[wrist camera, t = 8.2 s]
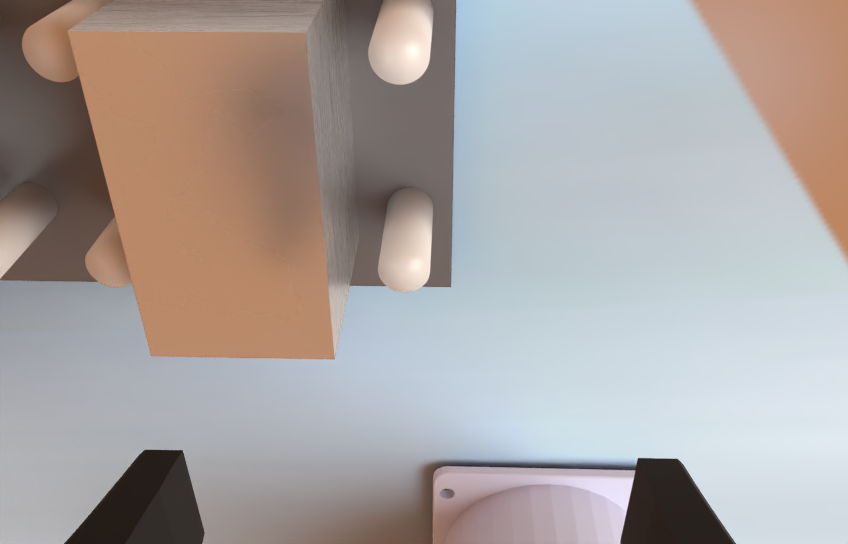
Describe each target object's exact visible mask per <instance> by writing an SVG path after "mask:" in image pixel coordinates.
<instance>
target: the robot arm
mask: <svg viewBox="0 0 848 544" xmlns="http://www.w3.org/2000/svg"><path fill="white" fill-rule="evenodd" d="M444 489H451V490H444ZM203 537H204V529H203V525H202V522H201V518H200V514H199V510H198V506H197V503H196V499H195V495H194V491H193V488H192V484H191V480H190V476H189V472H188V469H187V465H186V461H185V457H184V453H183V450H144V451H143V452H142V453H141V454H140V455H139V456H138V457H137V458H136V460H135V461H134V462H133V463H132V464H131V466H130V467H129V468H128V469H127V471H126V472H125V473H124V474H123V475H122V477H121V478H120V479H119V480H118V481H117V483H116V484H115V485H114V486H113V487H112V489H111V490H110V491H109V492H108V493H107V495H106V496H105V497H104V498H103V499H102V501H101V502H100V503H99V504H98V505H97V507H96V508H95V509H94V510H93V511H92V512H91V514H90V515H89V516H88V517H87V518H86V519H85V521H84V522H83V523H82V524H81V525H80V526H79V528H78V529H77V530H76V531H75V532H74V533H73V534H72V535H71V537H70V538H69V539H68V540H67V541H66V542H65V543H64V544H202V542H203ZM433 544H736V543H735V542H734V540H733V539H732V538H731V536H730V535H729V533H728V532H727V530H726V529H725V527H724V526H723V524H722V523H721V522H720V520H719V519H718V517H717V516H716V514H715V513H714V511H713V510H712V508H711V507H710V505H709V504H708V502H707V501H706V499H705V498H704V496H703V495H702V493H701V492H700V490H699V489H698V487H697V486H696V484H695V482H694V481H693V479H692V478H691V476H690V475H689V473H688V471H687V470H686V468H685V467H684V465H683V464H682V463H681V462H680V461H679V460H678V459H652V458H638V461H637V466H636V470H598V469H553V468H509V467H465V466H444V467H441V468H438V469H437V470H436V471H435V472H434V475H433Z"/></svg>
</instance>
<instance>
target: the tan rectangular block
mask: <svg viewBox="0 0 848 544" xmlns="http://www.w3.org/2000/svg"><path fill="white" fill-rule="evenodd" d="M68 35H69V38H70V42H71V46H72V50H73V54H74V58H75V62H76V66H77V70H78V73H79V77H80V81H81V85H82V89H83V93H84V97H85V101H86V105H87V108H88V112H89V116H90V120H91V124H92V128H93V132H94V136H95V140H96V143H97V147H98V151H99V155H100V159H101V163H102V167H103V171H104V175H105V178H106V182H107V186H108V190H109V194H110V198H111V202H112V206H113V210H114V213H115V217H116V221H117V225H118V229H119V233H120V237H121V241H122V244H123V248H124V252H125V256H126V260H127V264H128V268H129V272H130V276H131V279H132V283H133V287H134V291H135V295H136V299H137V303H138V307H139V311H140V314H141V318H142V322H143V326H144V330H145V334H146V338H147V342H148V346H149V349H150V353H151V356H179V357H233V358H288V359H335V356H336V351H337V346H338V341H339V336H340V331H341V326H342V321H343V316H344V311H345V306H346V301H347V296H348V292H349V287H350V282H351V277H352V272H353V267H354V262H355V257H356V252H357V247H358V242H359V232H358V215H357V198H356V181H355V165H354V148H353V131H352V114H351V97H350V81H349V64H348V47H347V30H346V13H345V0H112V1H111V2H109V3H108V4H106V5H105V6H103V7H102V8H100V9H99V10H98V11H96V12H95V13H93V14H92V15H90V16H89V17H87V18H86V19H84V20H83V21H82V22H80V23H79V24H77V25H76V26H74V27H73V28H71V29H70V30H69V31H68Z"/></svg>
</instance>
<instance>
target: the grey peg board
mask: <svg viewBox="0 0 848 544" xmlns="http://www.w3.org/2000/svg"><path fill="white" fill-rule="evenodd" d="M111 1H112V0H0V280H22V281H87V282H100V283H102V284H104V285H106V286H110V287H116V288H119V287H125V286H128V285H130V284H131V283H132V279H131V276H130V272H129V268H128V264H127V260H126V256H125V252H124V248H123V244H122V241H121V237H120V233H119V229H118V225H117V221H116V217H115V213H114V210H113V206H112V202H111V198H110V194H109V190H108V186H107V182H106V178H105V175H104V171H103V167H102V163H101V159H100V155H99V151H98V147H97V143H96V140H95V136H94V132H93V128H92V124H91V120H90V116H89V112H88V108H87V105H86V101H85V97H84V93H83V89H82V85H81V81H80V77H79V73H78V70H77V66H76V62H75V58H74V54H73V50H72V46H71V42H70V38H69V35H68V31H69V30H70V29H71V28H73V27H74V26H76V25H77V24H79V23H80V22H82V21H83V20H84V19H86V18H87V17H89V16H90V15H92V14H93V13H95V12H96V11H98V10H99V9H100V8H102V7H103V6H105V5H106V4H108V3H109V2H111ZM345 13H346V30H347V47H348V64H349V81H350V97H351V114H352V131H353V148H354V165H355V181H356V198H357V215H358V232H359V242H358V247H357V252H356V257H355V262H354V267H353V272H352V277H351V282H350V286H387V287H389V288H391V289H393V290H395V291H399V292H411V291H414V290H417V289H419V288H421V287H451V257H452V201H453V144H454V88H455V32H456V0H345Z"/></svg>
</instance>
